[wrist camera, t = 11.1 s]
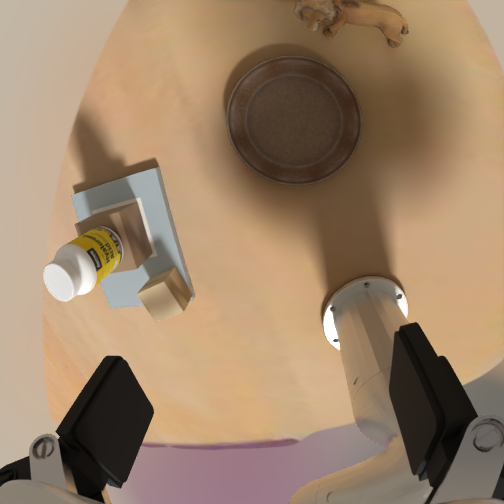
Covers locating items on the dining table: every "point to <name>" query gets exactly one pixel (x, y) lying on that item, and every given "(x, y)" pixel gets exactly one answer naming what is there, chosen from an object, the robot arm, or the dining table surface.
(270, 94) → the saucer
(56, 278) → the supplement bottle
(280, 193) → the dining table surface
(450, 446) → the robot arm
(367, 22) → the lion figurine
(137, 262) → the walnut block
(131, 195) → the board
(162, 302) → the oak cube
